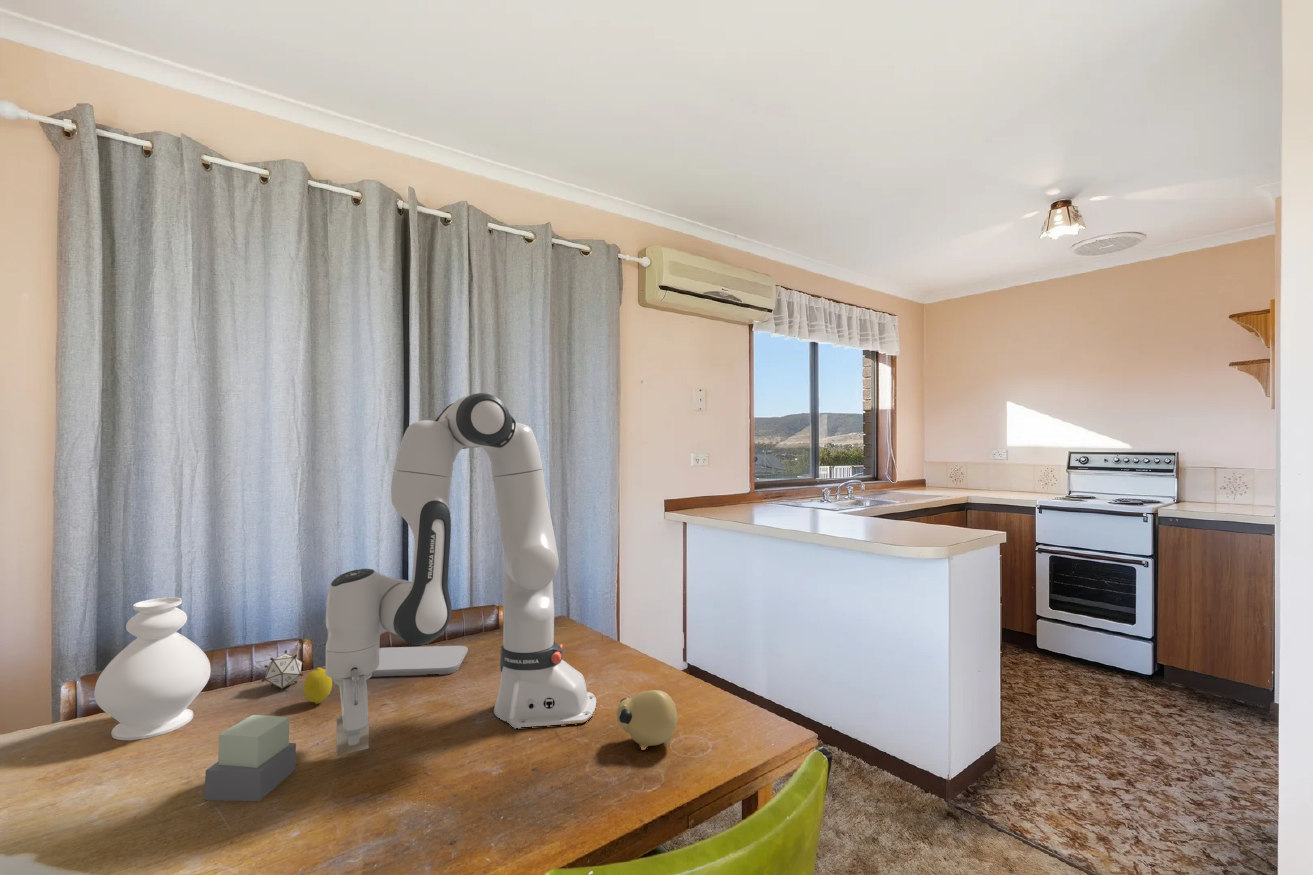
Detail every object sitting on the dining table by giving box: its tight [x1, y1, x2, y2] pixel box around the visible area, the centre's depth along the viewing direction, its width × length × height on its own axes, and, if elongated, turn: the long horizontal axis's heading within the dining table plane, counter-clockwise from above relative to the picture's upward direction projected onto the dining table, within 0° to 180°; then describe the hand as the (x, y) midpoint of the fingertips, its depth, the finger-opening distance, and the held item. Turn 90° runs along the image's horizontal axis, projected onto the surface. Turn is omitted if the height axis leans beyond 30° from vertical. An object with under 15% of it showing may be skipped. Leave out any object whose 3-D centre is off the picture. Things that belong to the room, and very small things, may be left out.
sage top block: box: [217, 714, 290, 768], centre depth 97 cm, size 7×7×5 cm
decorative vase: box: [93, 596, 212, 741], centre depth 117 cm, size 18×18×25 cm
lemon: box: [303, 667, 333, 705], centre depth 127 cm, size 6×6×8 cm
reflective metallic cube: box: [335, 714, 370, 757], centre depth 105 cm, size 5×5×5 cm
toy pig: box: [616, 689, 678, 748], centre depth 113 cm, size 10×12×11 cm
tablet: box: [370, 645, 469, 678], centre depth 151 cm, size 16×26×2 cm, turn 97°
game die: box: [260, 649, 307, 693], centre depth 135 cm, size 9×8×10 cm
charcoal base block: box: [204, 742, 297, 802], centre depth 97 cm, size 9×9×5 cm
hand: (352, 735), depth 105 cm, fingers closed on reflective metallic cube, 5 cm apart
